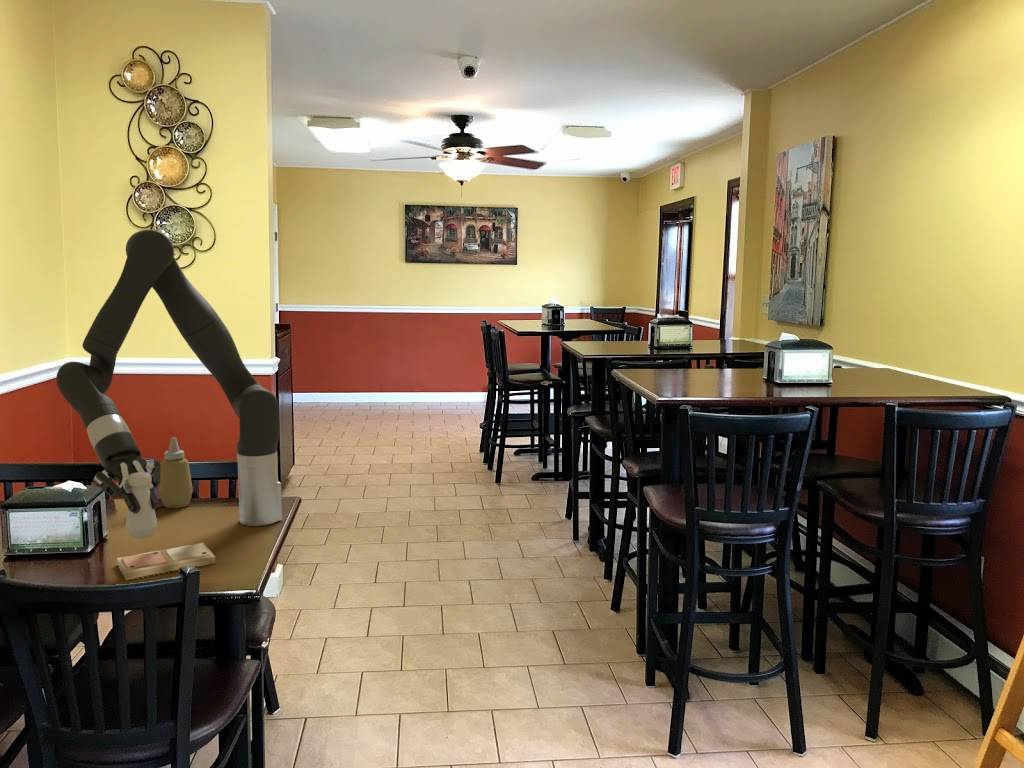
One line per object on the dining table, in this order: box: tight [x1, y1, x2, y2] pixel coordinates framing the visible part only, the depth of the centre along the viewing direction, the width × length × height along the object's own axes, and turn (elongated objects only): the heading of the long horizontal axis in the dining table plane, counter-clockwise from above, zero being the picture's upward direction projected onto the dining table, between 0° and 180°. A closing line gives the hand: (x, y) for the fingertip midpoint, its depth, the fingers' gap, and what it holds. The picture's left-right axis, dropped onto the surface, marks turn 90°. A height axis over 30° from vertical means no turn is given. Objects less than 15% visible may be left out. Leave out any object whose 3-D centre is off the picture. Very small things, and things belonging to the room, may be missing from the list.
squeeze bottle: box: [158, 437, 194, 509], centre depth 201 cm, size 8×8×18 cm
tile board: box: [116, 542, 216, 579], centre depth 162 cm, size 17×10×2 cm, turn 125°
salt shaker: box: [125, 471, 158, 539], centre depth 158 cm, size 6×6×13 cm
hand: (146, 509), depth 156 cm, fingers closed on salt shaker, 3 cm apart
